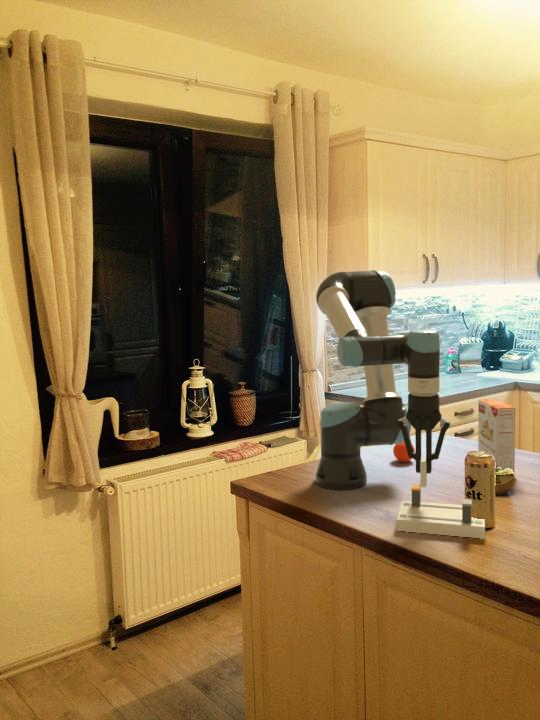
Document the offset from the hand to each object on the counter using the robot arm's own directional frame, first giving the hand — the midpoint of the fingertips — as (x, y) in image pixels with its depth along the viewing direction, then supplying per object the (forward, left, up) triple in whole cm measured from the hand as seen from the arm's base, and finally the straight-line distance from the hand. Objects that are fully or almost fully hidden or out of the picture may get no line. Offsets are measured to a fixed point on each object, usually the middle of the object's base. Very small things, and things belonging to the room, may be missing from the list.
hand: (423, 485), depth 158 cm
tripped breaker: (-2, -1, -5) cm, 5 cm away
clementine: (-10, +47, -9) cm, 49 cm away
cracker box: (+18, +44, -8) cm, 48 cm away
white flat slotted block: (+4, -5, -8) cm, 10 cm away
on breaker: (+10, -9, -5) cm, 14 cm away
